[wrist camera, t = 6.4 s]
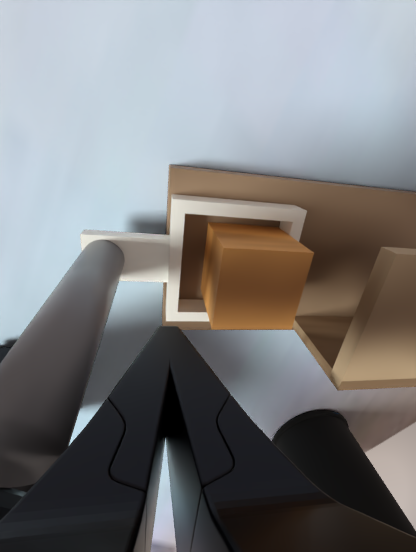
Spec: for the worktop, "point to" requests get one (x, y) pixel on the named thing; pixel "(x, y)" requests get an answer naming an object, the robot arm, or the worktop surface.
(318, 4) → the worktop surface
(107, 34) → the worktop surface
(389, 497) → the aerosol can
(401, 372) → the tan piece
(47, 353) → the sled
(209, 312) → the block
